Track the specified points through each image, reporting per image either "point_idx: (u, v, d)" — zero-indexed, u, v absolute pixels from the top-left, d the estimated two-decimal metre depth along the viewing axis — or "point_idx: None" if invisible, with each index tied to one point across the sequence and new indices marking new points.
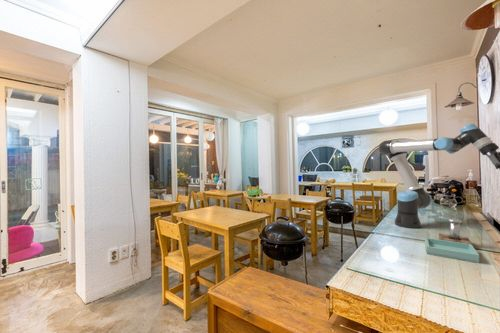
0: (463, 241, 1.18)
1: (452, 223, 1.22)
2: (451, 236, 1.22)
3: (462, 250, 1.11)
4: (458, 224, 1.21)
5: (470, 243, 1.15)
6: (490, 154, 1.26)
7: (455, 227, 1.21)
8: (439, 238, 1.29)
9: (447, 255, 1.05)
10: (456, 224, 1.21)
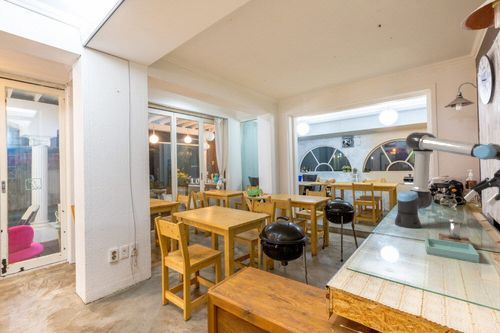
0: (463, 241, 1.18)
1: (452, 223, 1.22)
2: (451, 236, 1.22)
3: (462, 250, 1.11)
4: (458, 224, 1.21)
5: (470, 243, 1.15)
6: None
7: (455, 227, 1.21)
8: (439, 238, 1.29)
9: (447, 255, 1.05)
10: (456, 224, 1.21)
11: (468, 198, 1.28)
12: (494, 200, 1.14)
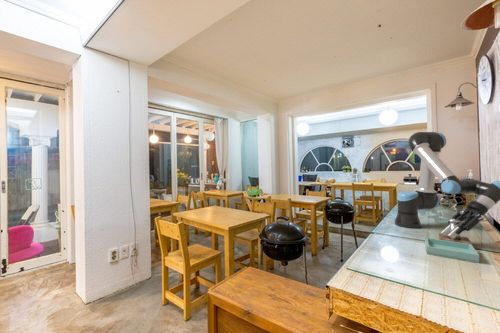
0: (463, 241, 1.18)
1: (452, 223, 1.22)
2: None
3: (462, 250, 1.11)
4: (458, 224, 1.21)
5: (470, 243, 1.15)
6: (479, 219, 1.16)
7: (455, 227, 1.21)
8: (439, 238, 1.29)
9: (447, 255, 1.05)
10: (456, 224, 1.21)
11: (445, 232, 1.25)
12: (455, 234, 1.20)
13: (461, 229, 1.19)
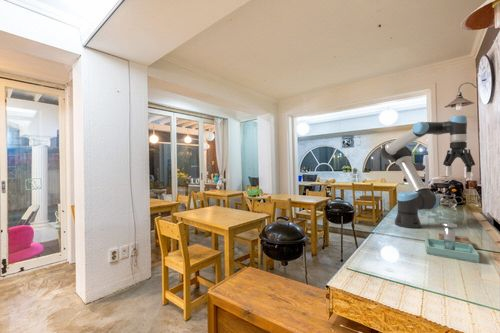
0: (463, 241, 1.18)
1: (446, 228, 1.10)
2: (446, 242, 1.11)
3: (462, 250, 1.11)
4: (453, 229, 1.09)
5: (470, 243, 1.15)
6: (468, 152, 1.31)
7: (450, 232, 1.09)
8: (439, 238, 1.29)
9: (447, 255, 1.05)
10: (451, 229, 1.09)
11: (449, 174, 1.44)
12: (468, 173, 1.31)
13: (469, 167, 1.29)
